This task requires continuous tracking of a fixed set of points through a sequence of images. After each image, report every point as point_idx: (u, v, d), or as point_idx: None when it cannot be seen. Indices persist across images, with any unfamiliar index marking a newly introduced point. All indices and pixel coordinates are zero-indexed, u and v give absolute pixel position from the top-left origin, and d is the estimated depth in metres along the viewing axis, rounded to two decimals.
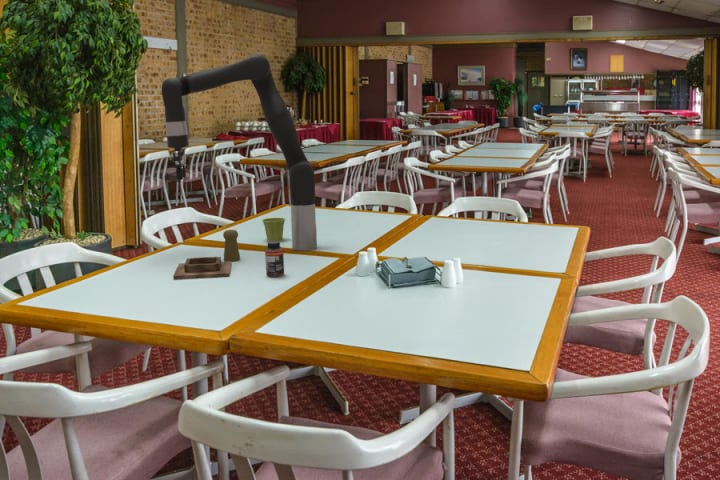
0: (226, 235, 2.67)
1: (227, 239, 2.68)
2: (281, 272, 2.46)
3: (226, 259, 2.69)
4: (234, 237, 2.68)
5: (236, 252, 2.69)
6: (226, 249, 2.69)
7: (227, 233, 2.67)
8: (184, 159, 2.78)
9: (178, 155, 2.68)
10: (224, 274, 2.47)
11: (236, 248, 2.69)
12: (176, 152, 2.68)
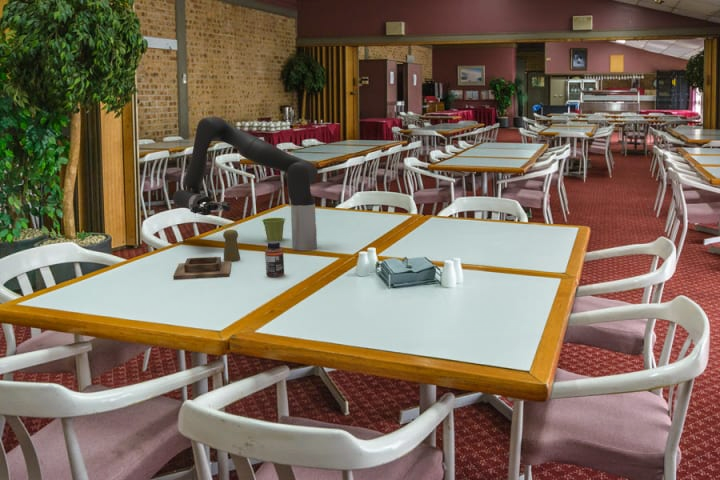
0: (226, 235, 2.67)
1: (227, 239, 2.68)
2: (281, 272, 2.46)
3: (226, 259, 2.69)
4: (234, 237, 2.68)
5: (236, 252, 2.69)
6: (226, 249, 2.69)
7: (227, 233, 2.67)
8: (215, 203, 2.84)
9: (190, 206, 2.81)
10: (224, 274, 2.47)
11: (236, 248, 2.69)
12: (190, 208, 2.82)
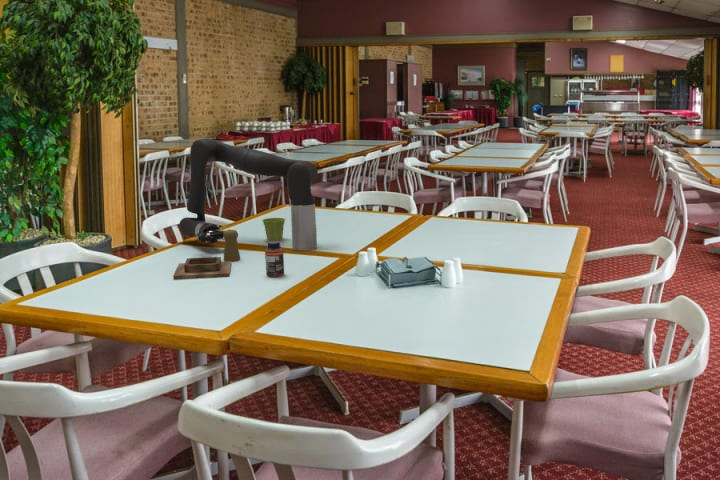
0: (226, 235, 2.67)
1: (227, 239, 2.68)
2: (281, 272, 2.46)
3: (226, 259, 2.69)
4: (234, 237, 2.68)
5: (236, 252, 2.69)
6: (226, 249, 2.69)
7: (227, 233, 2.67)
8: (222, 231, 2.82)
9: (197, 235, 2.79)
10: (224, 274, 2.47)
11: (236, 248, 2.69)
12: (196, 236, 2.80)
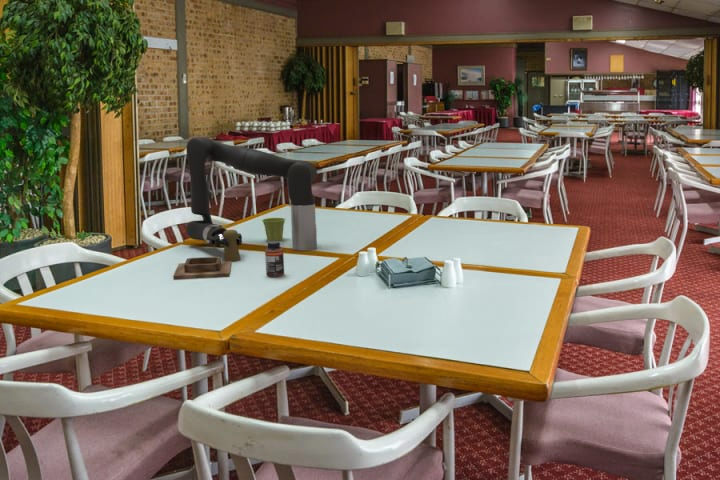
0: (226, 235, 2.67)
1: (227, 239, 2.68)
2: (281, 272, 2.46)
3: (226, 259, 2.69)
4: (234, 237, 2.68)
5: (236, 252, 2.69)
6: (226, 249, 2.69)
7: (227, 233, 2.67)
8: None
9: (208, 239, 2.71)
10: (224, 274, 2.47)
11: (236, 248, 2.69)
12: (206, 241, 2.72)
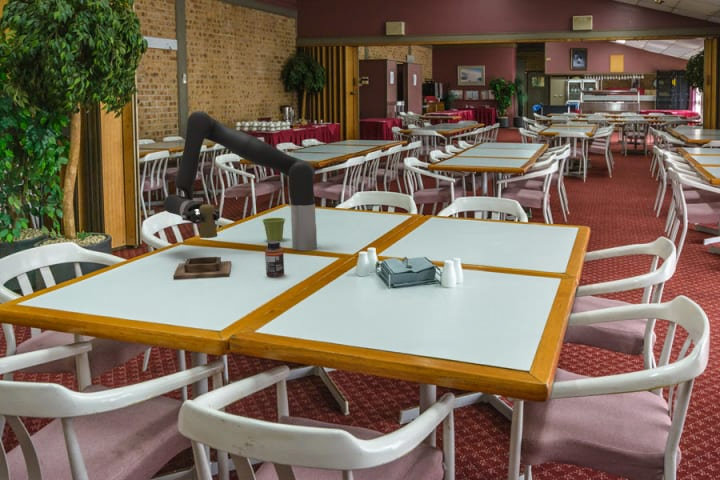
0: (202, 210, 2.53)
1: (203, 214, 2.54)
2: (281, 272, 2.46)
3: (202, 235, 2.55)
4: (210, 212, 2.54)
5: (213, 228, 2.55)
6: (202, 225, 2.55)
7: (203, 208, 2.53)
8: None
9: (184, 214, 2.58)
10: (224, 274, 2.47)
11: (213, 224, 2.56)
12: (182, 216, 2.58)
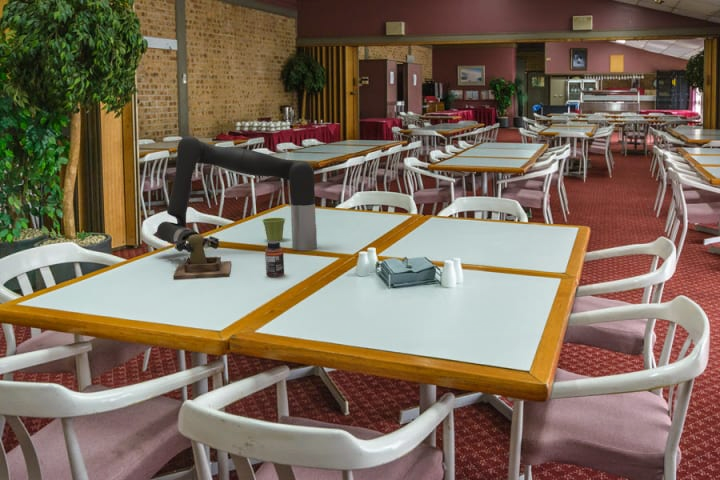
0: (191, 240, 2.50)
1: (192, 244, 2.51)
2: (281, 272, 2.46)
3: None
4: (199, 242, 2.51)
5: (202, 258, 2.52)
6: (191, 255, 2.51)
7: (192, 238, 2.50)
8: None
9: (175, 243, 2.55)
10: (224, 274, 2.47)
11: (203, 254, 2.52)
12: None
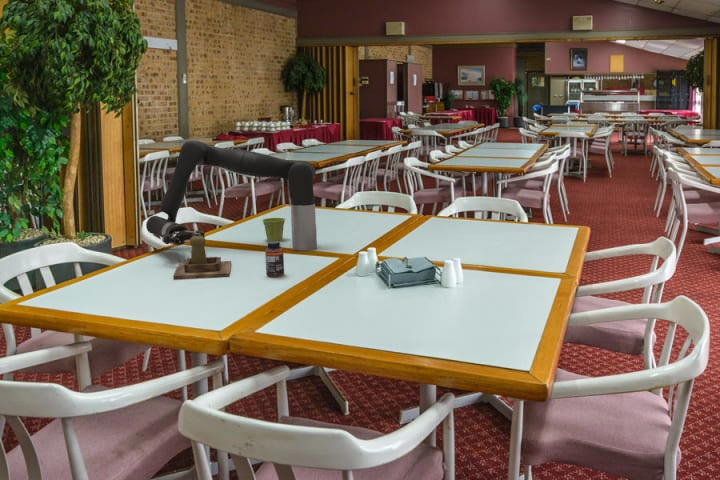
0: (193, 242, 2.50)
1: (194, 246, 2.51)
2: (281, 272, 2.46)
3: None
4: (201, 244, 2.51)
5: (203, 260, 2.52)
6: (193, 257, 2.51)
7: (194, 240, 2.50)
8: (189, 232, 2.68)
9: (162, 236, 2.66)
10: (224, 274, 2.47)
11: (204, 256, 2.52)
12: (162, 238, 2.67)
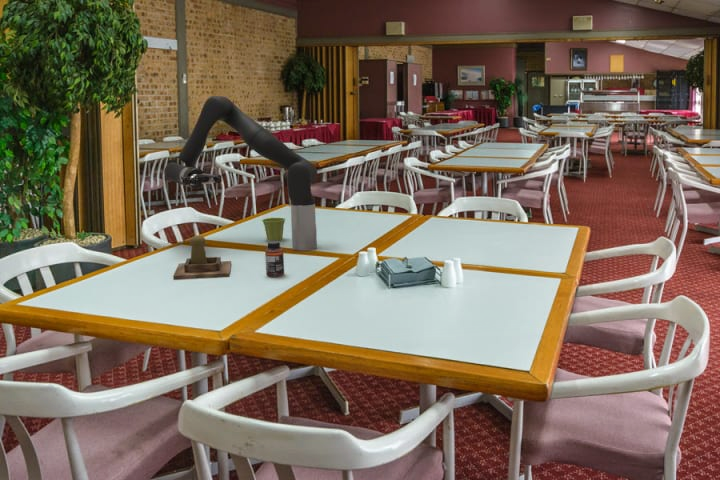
0: (192, 242, 2.50)
1: (194, 246, 2.51)
2: (281, 272, 2.46)
3: None
4: (201, 244, 2.51)
5: (203, 260, 2.52)
6: (193, 257, 2.51)
7: (194, 240, 2.50)
8: (206, 175, 2.77)
9: (181, 178, 2.75)
10: (224, 274, 2.47)
11: (204, 256, 2.52)
12: (180, 180, 2.76)
